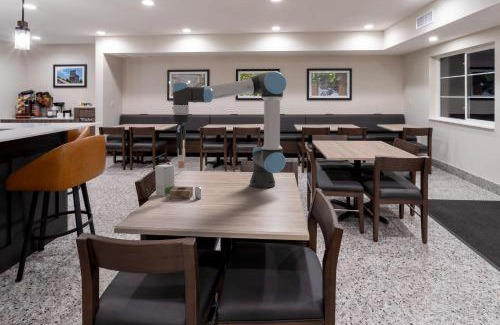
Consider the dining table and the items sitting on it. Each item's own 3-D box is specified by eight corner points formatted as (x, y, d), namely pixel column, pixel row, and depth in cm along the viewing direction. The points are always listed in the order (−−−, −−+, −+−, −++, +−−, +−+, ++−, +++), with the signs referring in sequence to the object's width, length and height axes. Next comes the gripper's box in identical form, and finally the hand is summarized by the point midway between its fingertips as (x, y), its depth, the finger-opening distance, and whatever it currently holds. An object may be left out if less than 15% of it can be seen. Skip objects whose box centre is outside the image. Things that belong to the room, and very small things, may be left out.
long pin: (185, 167, 188) (184, 139, 186) (183, 168, 185) (183, 140, 183) (179, 166, 188) (178, 139, 186) (177, 167, 186) (177, 140, 183)
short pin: (201, 198, 188) (201, 186, 187) (200, 199, 185) (200, 188, 184) (195, 198, 188) (195, 186, 187) (194, 199, 185) (194, 188, 184)
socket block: (193, 194, 194) (192, 186, 193) (189, 199, 184) (189, 191, 184) (174, 194, 194) (174, 186, 194) (169, 199, 185) (169, 190, 184)
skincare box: (164, 196, 190) (163, 167, 188) (155, 194, 194) (154, 165, 191) (175, 193, 197) (174, 164, 195) (166, 191, 201) (165, 163, 198)
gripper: (176, 113, 191) (177, 158, 194) (169, 114, 175) (170, 163, 179) (191, 113, 191) (191, 158, 194) (185, 114, 175) (185, 163, 178)
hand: (181, 160), depth 186 cm, fingers closed on long pin, 3 cm apart
